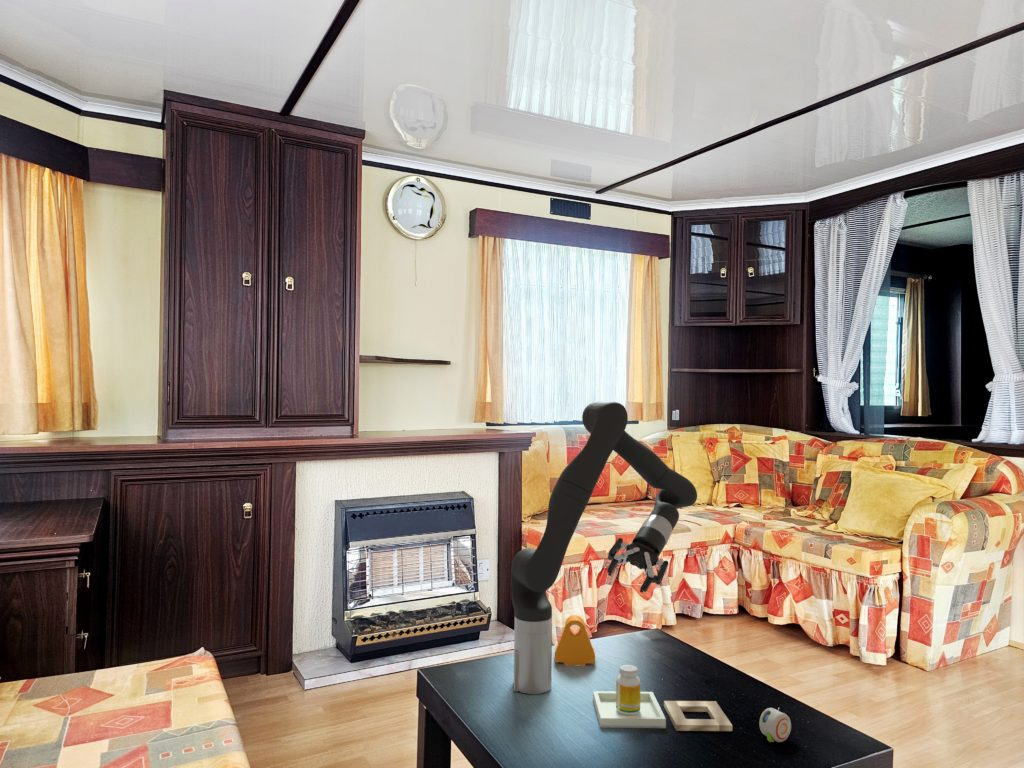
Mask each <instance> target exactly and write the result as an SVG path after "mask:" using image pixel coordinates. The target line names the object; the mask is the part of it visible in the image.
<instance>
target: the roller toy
mask: <svg viewBox="0 0 1024 768" xmlns="http://www.w3.org/2000/svg"><path fill="white" fill-rule="evenodd" d="M758 723H759V726H758V727H759V729H760V731H761V733H762V734H763V735H764V736H765V737H766V740H767V741H768V743H771V742H773V743H774V742H777V743H783V742H784V741H787V739H788V737H789V735H790V733H791V731H792V722H791V719H790V717H789V716H788V715H787V714H786V713H785V712H781V711H780V710H778V709H776V708H774V707H767V708H766V709H764V711H762V713H761V715H760V718H759V722H758Z"/></svg>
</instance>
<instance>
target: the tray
mask: <svg viewBox="0 0 1024 768" xmlns="http://www.w3.org/2000/svg"><path fill="white" fill-rule="evenodd" d="M592 701H593V704H594V705H593V706H594V708H595V712H596V716H597V721H598V722H599V726H600V728H601V729H602V728H603V729H604V728H605V729H606V728H607V729H667V718H666V716H665V715H664V714H665V713H663V710H662V708H661V706H660V704H659V702H658V700H657V698H656V696H655V694H654V692H653V691H640V712H639V713H638V714H636V715H624V714H621V713H619V712H618V711H617V710H616V691H614V690H613V691H609V690H608V691H607V690H605V691H602V690H597V691H595V690H593V691H592Z"/></svg>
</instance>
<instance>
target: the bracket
mask: <svg viewBox="0 0 1024 768" xmlns="http://www.w3.org/2000/svg"><path fill="white" fill-rule="evenodd" d="M574 625H575V626H578V627H579V629H577V630H574V629H572V628H571V627H572V626H574ZM595 649H596V648H595V647H594V646H593V645H592V642H591V639H590V637H589V633H588V631H587V628H586V622H585V621H584V619H583V618H582V617H581V616H580V615H578V614H572V615H569V616H568V617H567V619H566V620H565V622H564V627H563V629H562V633H561V636H560V638H559V641H558V643H557V645H555V646H554V662H555V663H564V664H565V665H564V664H563V665H564V666H572V665H580V666H579V667H585V666H586V664H596V653H595V652H596V651H595ZM584 665H585V666H584Z"/></svg>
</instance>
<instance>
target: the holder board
mask: <svg viewBox="0 0 1024 768" xmlns="http://www.w3.org/2000/svg"><path fill="white" fill-rule="evenodd" d="M663 707H664V710H665V711H666V713H667V716H669V717H668V718H669V719H670V721H671V723H672V726H673V727H674V729H675V731H677V732H679V731H681V732H682V731H683V732H684V731H685V732H687V731H689V732H691V731H692V732H694V731H695V732H733V724H732V723H731V721H730V720H729V718H728V716H727V715H726V714H725V713H724V711H723V710H722V708H721V706H720V705H719V704H718V702H717V701H716V700H714V701H713V700H710V701H709V700H703V701H702V700H663ZM683 712H687V713H688V712H691V713H696V712H697V713H704V712H705V713H707V714H708V716H709V717H710V719H709V718H706V719H705V718H687V717H685V716H686V715H684V713H683Z"/></svg>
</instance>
